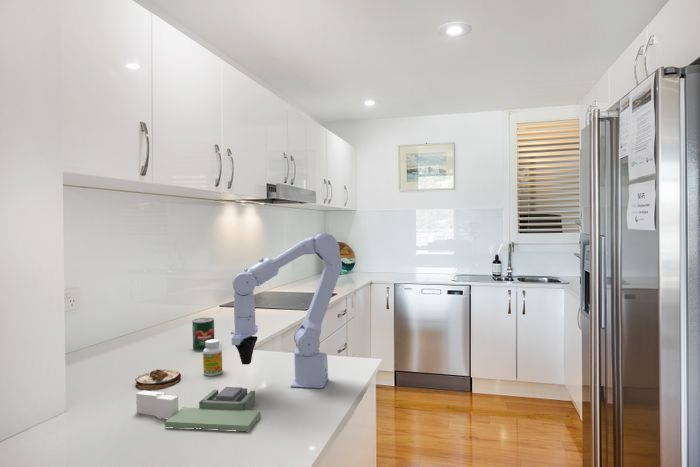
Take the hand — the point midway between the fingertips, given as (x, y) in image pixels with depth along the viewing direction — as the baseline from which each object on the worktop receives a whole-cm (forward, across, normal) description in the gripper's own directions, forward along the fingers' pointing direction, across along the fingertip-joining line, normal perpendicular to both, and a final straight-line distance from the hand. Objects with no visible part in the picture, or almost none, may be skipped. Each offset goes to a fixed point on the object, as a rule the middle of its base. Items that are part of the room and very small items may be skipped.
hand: (246, 363), depth 125 cm
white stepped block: (+8, +18, -16) cm, 26 cm away
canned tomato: (+7, -39, -32) cm, 51 cm away
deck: (+7, +17, 0) cm, 18 cm away
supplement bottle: (+8, -13, -16) cm, 22 cm away
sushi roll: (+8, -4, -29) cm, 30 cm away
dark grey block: (+8, +11, 0) cm, 14 cm away
